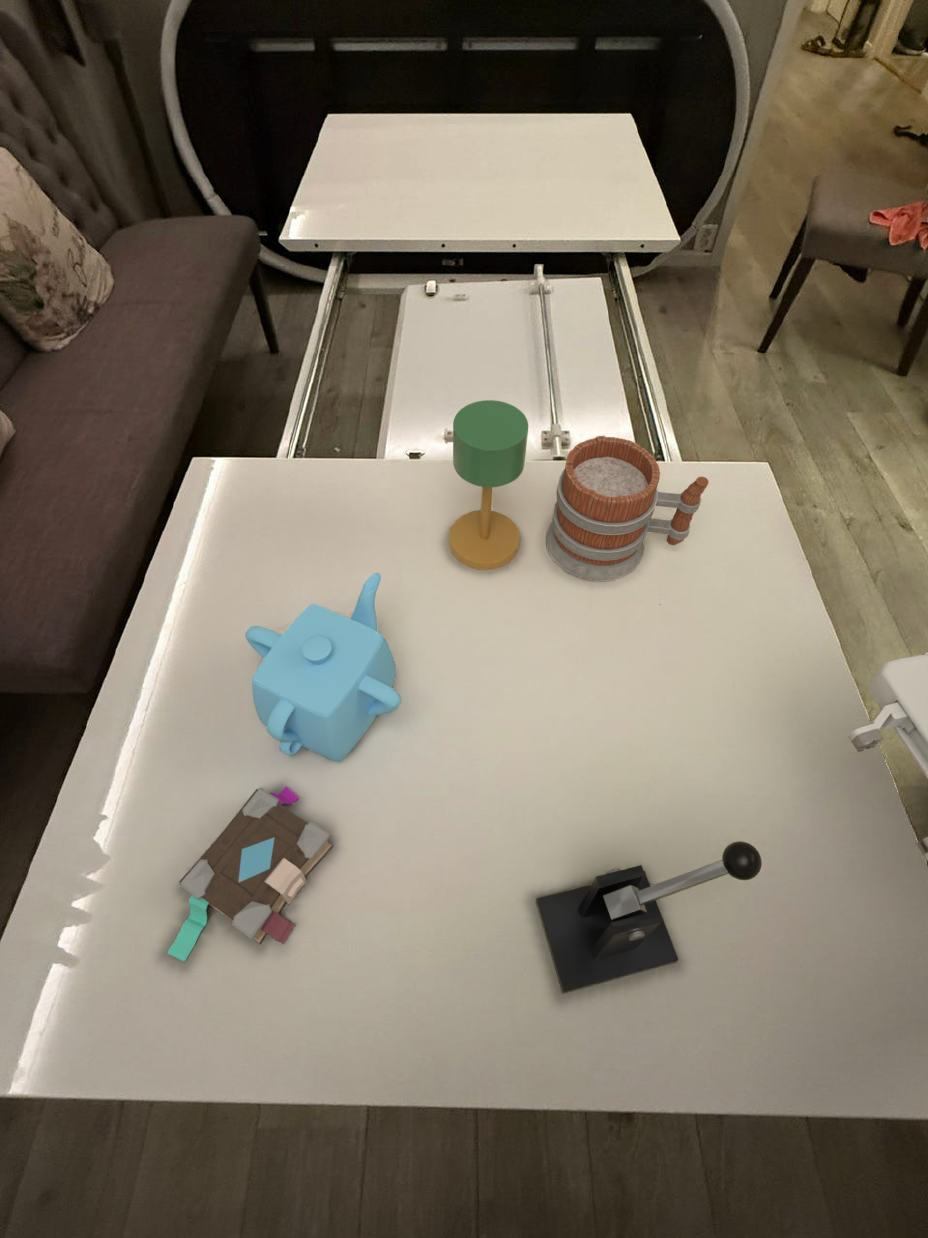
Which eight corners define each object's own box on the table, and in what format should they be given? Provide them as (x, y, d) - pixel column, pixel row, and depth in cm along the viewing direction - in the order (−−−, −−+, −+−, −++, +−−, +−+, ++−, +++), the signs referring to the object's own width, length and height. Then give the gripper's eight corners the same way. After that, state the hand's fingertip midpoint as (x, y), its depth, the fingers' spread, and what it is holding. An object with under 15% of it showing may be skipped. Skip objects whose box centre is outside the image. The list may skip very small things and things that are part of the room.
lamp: (530, 558, 103) (546, 441, 86) (464, 578, 101) (466, 461, 84) (503, 510, 109) (512, 390, 91) (439, 527, 107) (437, 407, 89)
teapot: (410, 757, 86) (404, 701, 75) (268, 783, 84) (241, 729, 73) (387, 631, 96) (379, 565, 85) (260, 651, 94) (235, 586, 83)
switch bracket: (642, 873, 78) (671, 833, 68) (676, 962, 73) (713, 934, 63) (535, 901, 77) (548, 864, 66) (562, 994, 72) (581, 970, 61)
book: (238, 1009, 71) (225, 1002, 66) (147, 938, 74) (129, 926, 70) (362, 837, 80) (357, 821, 76) (276, 781, 84) (267, 762, 80)
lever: (753, 839, 65) (748, 832, 63) (770, 875, 63) (766, 869, 61) (609, 893, 69) (599, 889, 66) (621, 928, 67) (611, 925, 64)
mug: (548, 504, 110) (560, 424, 97) (678, 517, 108) (707, 439, 96) (542, 577, 102) (554, 500, 89) (682, 592, 100) (714, 517, 88)
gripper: (976, 624, 63) (832, 666, 62) (1162, 853, 52) (994, 911, 51) (939, 660, 69) (806, 700, 67) (1102, 875, 58) (947, 929, 56)
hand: (888, 793), depth 59 cm, fingers open, 8 cm apart
